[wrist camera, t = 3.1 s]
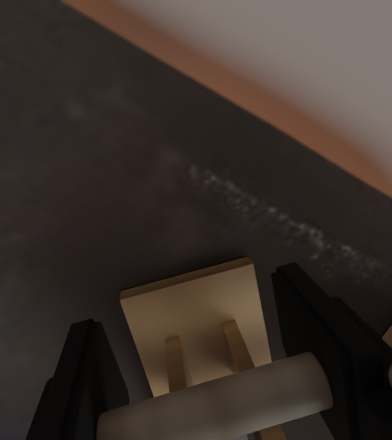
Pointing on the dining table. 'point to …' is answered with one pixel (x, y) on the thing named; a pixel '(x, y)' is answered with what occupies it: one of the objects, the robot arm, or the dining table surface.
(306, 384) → the lever
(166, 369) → the slicer
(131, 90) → the dining table surface
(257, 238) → the dining table surface
